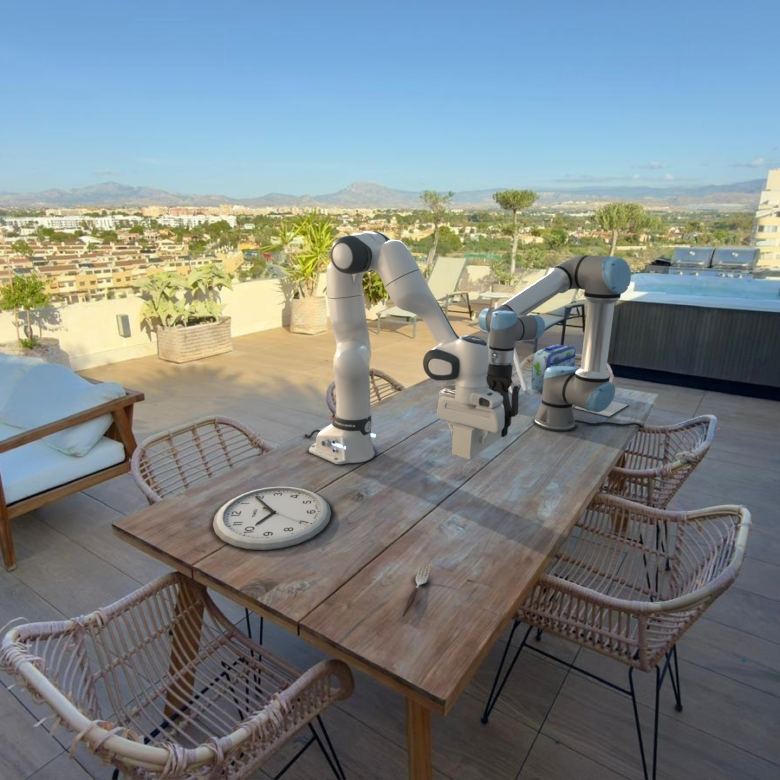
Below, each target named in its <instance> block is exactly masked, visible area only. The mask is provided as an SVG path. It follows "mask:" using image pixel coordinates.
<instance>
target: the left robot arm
mask: <svg viewBox="0 0 780 780" xmlns="http://www.w3.org/2000/svg"><path fill="white" fill-rule="evenodd" d="M329 255H330V260H331V261H330V262H329V263H328V264H327V267H326V277H325V278H326V279H325V284H326V296H327V304H328V305H327V306H328V311H329V318H330V325H331V327H332V332H333V335H334V341H335V346H336V350H335V353H334V355H333V360H332V361H333V362H332V363H333V378H334V387H335V410H336V411H335V412H334V413H333V414H332V415H330V416H329V420H331V423H329V424H328V425H325V426H322V427H319V428H317V429H314V430H313V431H311V433H310V434H306V433H305V434H304V437H305V438H308V439H309V438H311V437H313V435H314V434H315V433H317V434H316V439H315V442H314V443H313V444H311V445H310V447H309V448H308V452H309V453H311V454H313V455H315V456H316V457H319V458H322V459H324V460H326V461H328V462H330V463H333V464H335V465H345V464H357V463H359V464H360V463H363V462H367V461H370V460H371V459H373V458H374V457H375V455H376V452H375V449H374V446H373V440H372V438H376V433H372V413H371V377H370V376H371V375H370V373H371V371H370V365H371V357H372V347H371V340H370V333H369V332H370V331H369V327H368V321H367V314H366V313H367V312H366V303H365V296H364V295H365V294H364V287H363V278H364V275H365V274H366V273H367V272H368V273H372V272H375V273H377V274H378V276H379V278H380V279H381V281H382V284H383V286H384V288H385V291H386V292H387V294H388V297H389V298H390V299H391V301H392V303H394V305H395V306H396V307H397V308H398V309H400V310H402V311H405V312H408V313H412V314H414V315H416V316H417V317H419V318H420V319H421V320H422V321H423V322H424V324H425V325H426V327H427V329H428V331H429V332H430V334H431V336H432V337H433V339H434V341H435V344H436V346H434V347H433V348H430V350H428V351H426V353H425V354H424V357H423V359H422V368H423V370H424V372H425V374H426V375H427V376H428V377H429V378H430V379H432V380H434V381H439V382H440V381H442V380H455V382H456V383H455V384H454V386H455V387H454V389H449V388H443V389H440V390H439V392H438V402H437V407H436V416H437V418H438V420H442V421H446V422H447V426H448V428H449V430H450V437H453V426H454V425H455V424H461V425H465V426H469V427H473V428H477V429H481V430H483V433H484V434H485V435H484V436H481V437H480V438H479V443H480V444H486V441H487V437H488V435H489V434H490V433H491V432H493V433H498V432H500V431H501V430H502V429H503V428H504V422H505V415H504V408H503V406H502V405H503V396H502V395H500V393H498V392H494V391H493V390H491V389H489V386H488V384H487V379H486V376H487V372H488V365H489V353H488V346H487V343H488V342H487V341H485V340H484V339H483V338H481V337H479V336H475V335H467V334H466V335H462V336H459V335H458V334H457V332H456V331H455V329H454V328H453V326H452V324H451V323H450V320H449V319H448V317H447V316H446V314H445V312H444V311H443V308H442V306H441V305H440V303H439V302H438V300H437V299H436V297H435V295H434V294H433V292H432V290H431V288H430V287H429V284H428V282H427V280H426V278H425V277H424V275H423V272H422V270H421V268H420V266H419V264H418V263H417V260H416V258H415V257H414V255H413V254H412V252H411V250H410V249H409V248H408V247H407V245H406V244H405V243H404V242H403V241H401V240H399V239H391V238H390V237H389V236H387V234H385V233H384V232H381V231H359V232H357V233H352V234H347V235H343V236H341V237H339V238H337V239H336V240H335V241H334V242H333V244H332V245H331V247H330V253H329ZM442 382H443V381H442Z"/></svg>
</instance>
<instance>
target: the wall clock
mask: <svg viewBox="0 0 780 780" xmlns="http://www.w3.org/2000/svg"><path fill="white" fill-rule="evenodd" d="M331 516H332V512H331V507H330V504H329V503H328V502H327V500H326V499H325V498H323V497H322V496H320V495H319V494H317V493H316V492H313V491H310V490H308V489H305V488H300V487H293V486H271V487H263V488H259V489H253V490H251V491H247V492H244V493H242V494H239V495H238V496H235V497H234V498H232V499H230V500H228V501H227V502H226V503H225V504H223V505H222V506H221V507H220V508H219V510H218V511H217V512H216V514H215V515H214V518H213V522H212V527H213V529H214V533H215V535H217V536H218V537H219V538H220V539H221V541H222V542H225V543H227V544H229V545H231V546H233V547H237V548H242V549H246V550H258V551H259V550H260V551H267V550H276V549H284V548H288V547H291V546H295V545H299V544H301V543H303V542H305V541H308V540H310V539H312V538H314V537H316V536H317V535H318V534H319V533H321V532H322V531H323V530H324V529H325V527H326V526H327V525H328V524H329V522H330V520H331Z"/></svg>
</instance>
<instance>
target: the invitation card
mask: <svg viewBox="0 0 780 780" xmlns="http://www.w3.org/2000/svg"><path fill="white" fill-rule="evenodd" d="M628 406H629V404H627V403H623V402H618V401H614V400H612V402H611V403H610V405H609V406H608V407H607V408H606V409H605V410H603V411H601V412H594V411H588V410H586V409H583V408H581V407H578V406H574V407H573V409H575V410H581V411H584V412H587V413H593V414H596V415H600V416H604V417H608V418H609V417H611V416H613V415H614V414H616V413H617V412H619V411H621V410H623V409H624V408H626V407H628Z"/></svg>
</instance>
